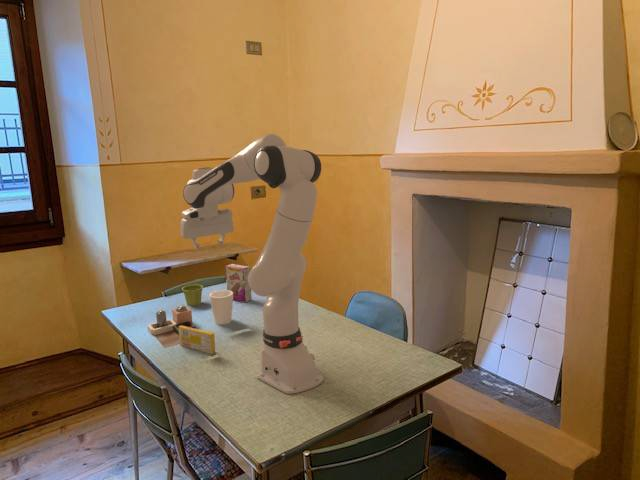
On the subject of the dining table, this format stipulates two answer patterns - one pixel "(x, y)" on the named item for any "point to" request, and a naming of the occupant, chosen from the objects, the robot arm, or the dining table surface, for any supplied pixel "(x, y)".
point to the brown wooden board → (172, 335)
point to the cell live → (161, 319)
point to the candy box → (197, 339)
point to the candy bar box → (238, 282)
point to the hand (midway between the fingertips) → (209, 246)
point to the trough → (162, 329)
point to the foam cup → (222, 306)
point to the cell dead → (181, 309)
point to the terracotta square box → (182, 316)
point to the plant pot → (193, 294)
